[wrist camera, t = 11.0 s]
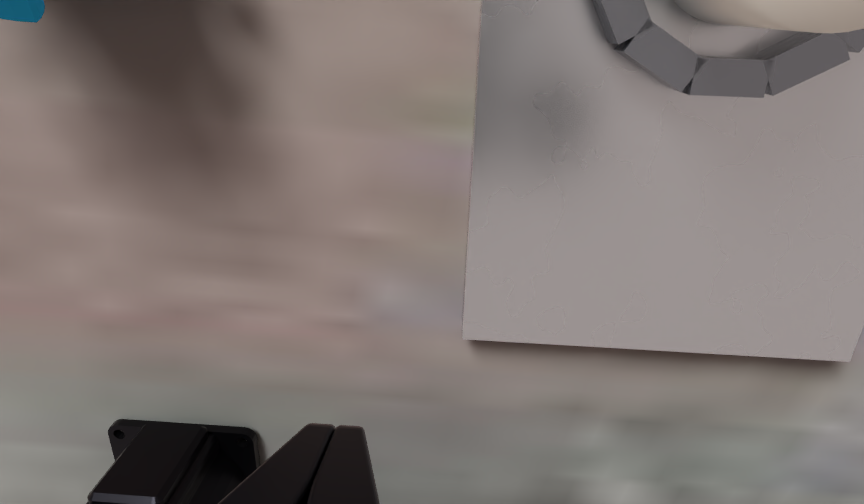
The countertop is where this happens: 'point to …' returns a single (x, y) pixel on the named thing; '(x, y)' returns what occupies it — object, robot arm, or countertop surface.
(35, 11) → the gear
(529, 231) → the hub plate
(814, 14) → the knob
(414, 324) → the countertop surface
